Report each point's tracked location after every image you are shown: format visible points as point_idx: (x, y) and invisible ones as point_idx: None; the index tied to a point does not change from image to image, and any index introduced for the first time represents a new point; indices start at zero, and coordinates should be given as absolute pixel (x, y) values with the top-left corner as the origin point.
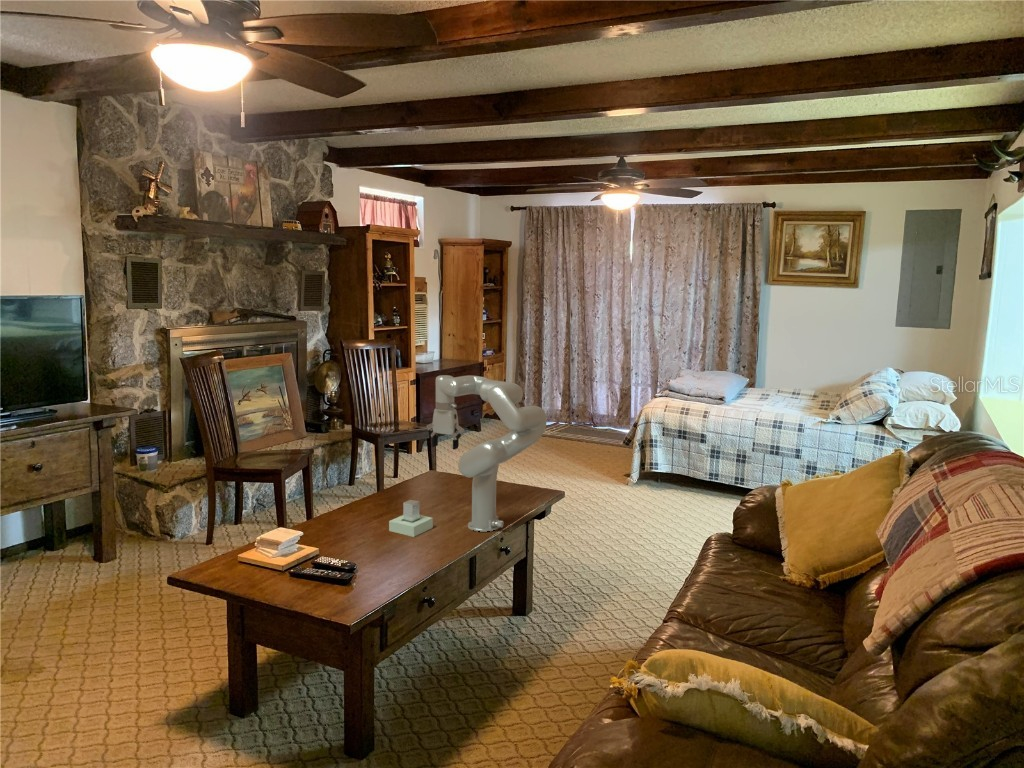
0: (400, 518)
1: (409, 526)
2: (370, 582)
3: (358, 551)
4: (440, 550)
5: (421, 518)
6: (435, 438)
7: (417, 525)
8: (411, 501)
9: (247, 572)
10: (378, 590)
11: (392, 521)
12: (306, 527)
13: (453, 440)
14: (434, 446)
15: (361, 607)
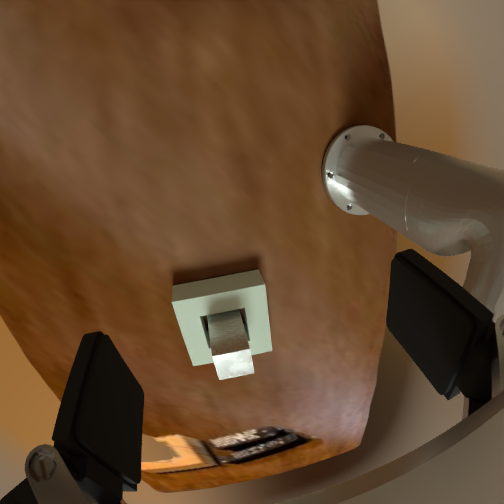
0: (198, 342)
1: (258, 352)
2: (327, 427)
3: (236, 413)
4: (353, 331)
5: (242, 307)
6: (119, 453)
7: (270, 339)
8: (229, 362)
9: (193, 476)
10: (346, 425)
11: (202, 363)
12: None
13: (450, 391)
14: (138, 383)
15: (352, 438)
